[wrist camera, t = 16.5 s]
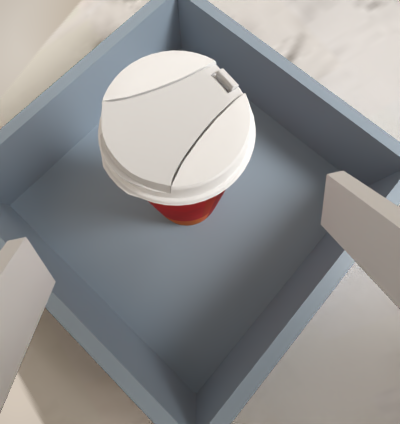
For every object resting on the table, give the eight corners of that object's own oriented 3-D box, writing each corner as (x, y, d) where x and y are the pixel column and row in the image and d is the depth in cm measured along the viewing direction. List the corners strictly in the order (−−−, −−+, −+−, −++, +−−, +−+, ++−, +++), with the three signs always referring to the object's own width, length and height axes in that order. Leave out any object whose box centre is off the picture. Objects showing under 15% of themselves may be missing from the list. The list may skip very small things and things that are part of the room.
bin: (370, 190, 27) (429, 164, 20) (197, 407, 23) (196, 468, 16) (181, 43, 30) (176, -23, 23) (2, 208, 26) (-68, 187, 19)
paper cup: (193, 145, 26) (190, 13, 13) (243, 203, 25) (298, 127, 12) (130, 191, 25) (50, 102, 12) (178, 255, 24) (153, 238, 10)
